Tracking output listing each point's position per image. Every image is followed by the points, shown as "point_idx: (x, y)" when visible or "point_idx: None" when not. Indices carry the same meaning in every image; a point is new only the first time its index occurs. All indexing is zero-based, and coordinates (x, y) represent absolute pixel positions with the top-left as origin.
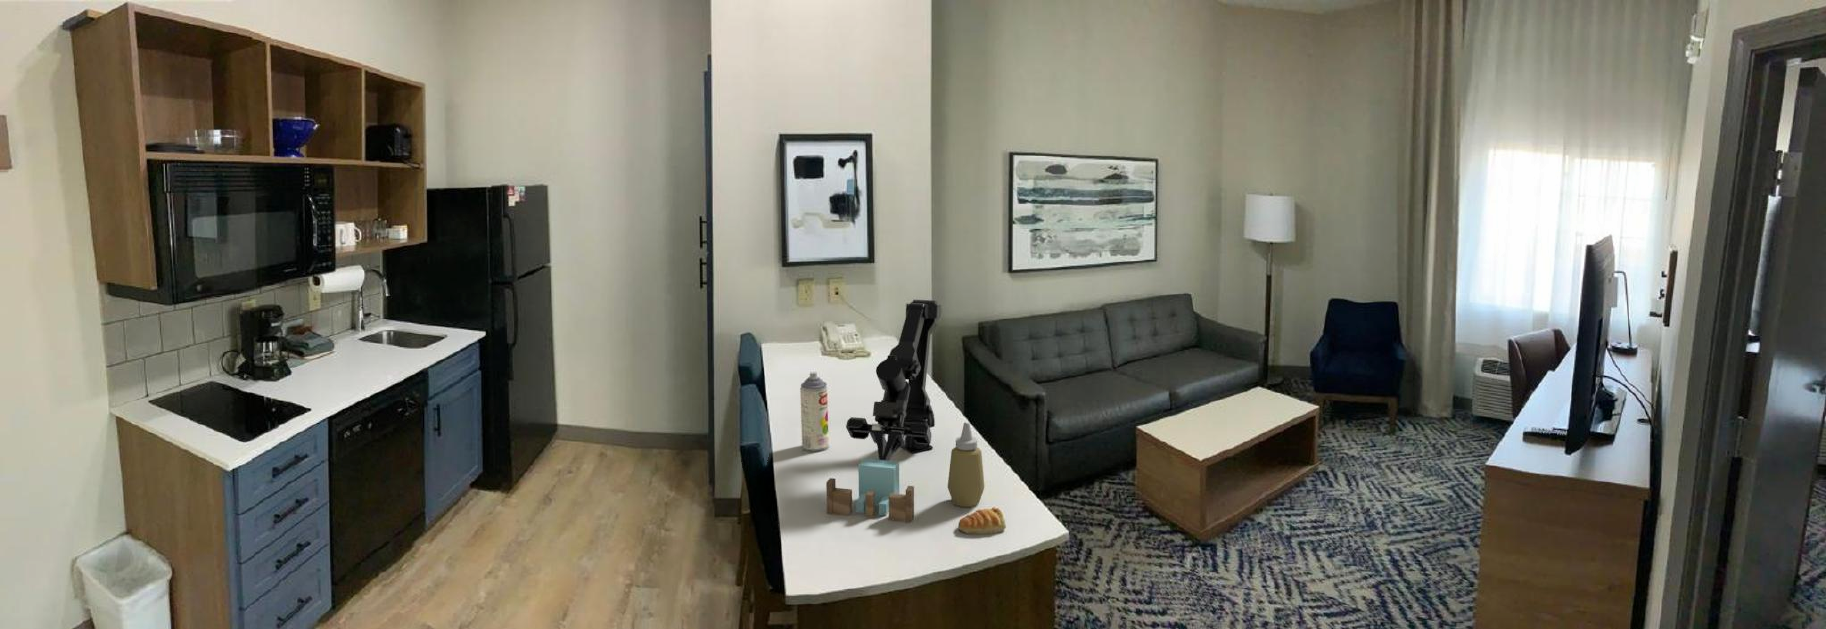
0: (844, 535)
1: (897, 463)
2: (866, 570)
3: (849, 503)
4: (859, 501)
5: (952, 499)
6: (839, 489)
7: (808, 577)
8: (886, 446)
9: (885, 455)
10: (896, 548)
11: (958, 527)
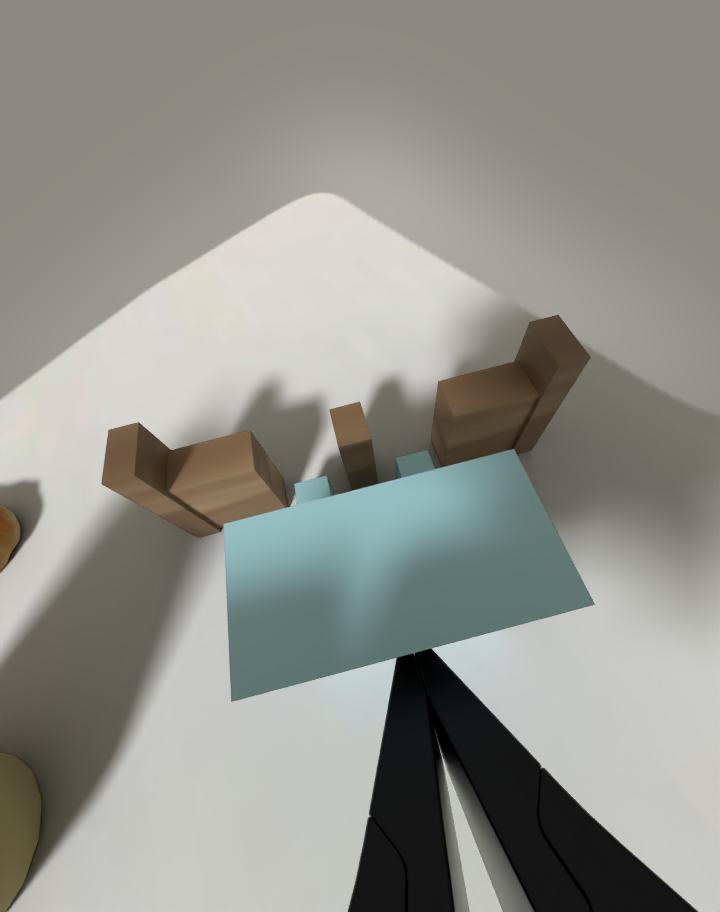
0: (361, 339)
1: (231, 641)
2: (232, 264)
3: (434, 415)
4: (413, 454)
5: (23, 779)
6: (506, 391)
7: (329, 208)
8: (433, 863)
9: (401, 728)
10: (197, 352)
11: (15, 520)
